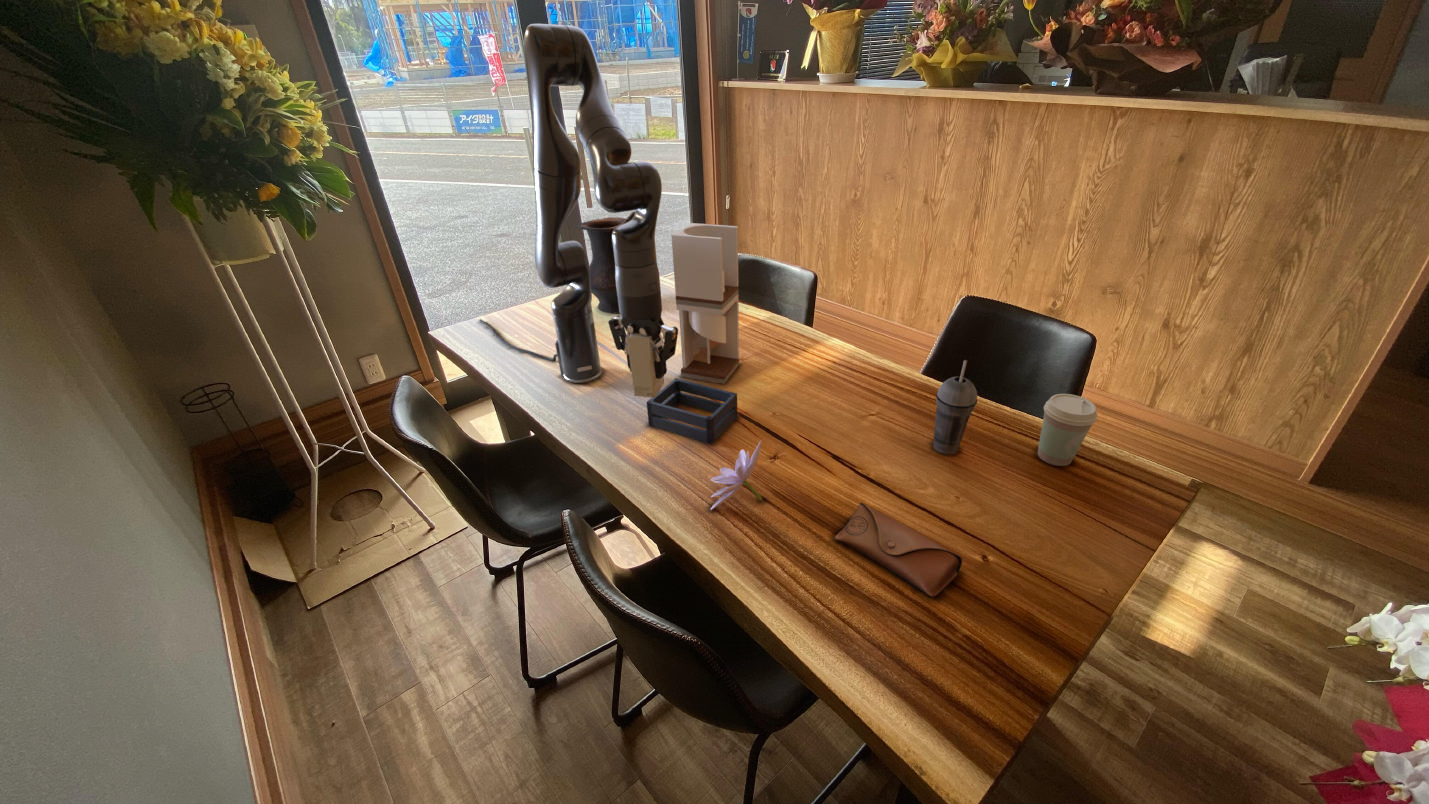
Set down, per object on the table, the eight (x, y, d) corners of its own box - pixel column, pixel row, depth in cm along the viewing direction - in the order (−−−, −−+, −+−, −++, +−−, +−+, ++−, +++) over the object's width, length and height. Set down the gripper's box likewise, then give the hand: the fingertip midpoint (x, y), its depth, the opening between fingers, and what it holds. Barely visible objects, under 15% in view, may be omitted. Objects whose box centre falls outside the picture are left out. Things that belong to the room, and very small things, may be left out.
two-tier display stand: (681, 376, 142) (671, 235, 124) (698, 358, 150) (691, 223, 132) (724, 383, 138) (720, 239, 120) (739, 364, 146) (737, 226, 128)
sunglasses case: (830, 538, 93) (845, 501, 92) (849, 534, 98) (863, 499, 97) (935, 600, 82) (954, 559, 81) (950, 593, 87) (967, 553, 86)
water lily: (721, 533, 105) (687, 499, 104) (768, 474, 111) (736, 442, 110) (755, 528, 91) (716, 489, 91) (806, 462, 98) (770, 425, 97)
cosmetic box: (655, 398, 106) (650, 338, 100) (632, 396, 107) (625, 337, 100) (664, 382, 111) (660, 324, 105) (643, 380, 112) (636, 323, 106)
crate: (648, 425, 123) (646, 402, 120) (677, 400, 132) (675, 378, 129) (711, 444, 117) (710, 419, 114) (737, 416, 125) (737, 393, 122)
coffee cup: (1060, 476, 105) (1080, 421, 99) (1019, 452, 111) (1036, 399, 105) (1089, 462, 108) (1110, 408, 102) (1048, 439, 115) (1066, 387, 109)
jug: (576, 318, 176) (560, 219, 160) (596, 296, 191) (583, 204, 176) (642, 321, 172) (632, 219, 157) (658, 298, 188) (650, 204, 172)
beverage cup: (964, 440, 115) (986, 351, 105) (965, 461, 110) (988, 369, 99) (926, 434, 117) (944, 346, 107) (925, 454, 112) (943, 364, 101)
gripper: (685, 286, 98) (690, 373, 107) (618, 275, 104) (628, 358, 113) (661, 300, 93) (669, 391, 101) (591, 288, 99) (604, 374, 107)
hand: (647, 373), depth 107 cm, fingers closed on cosmetic box, 5 cm apart
